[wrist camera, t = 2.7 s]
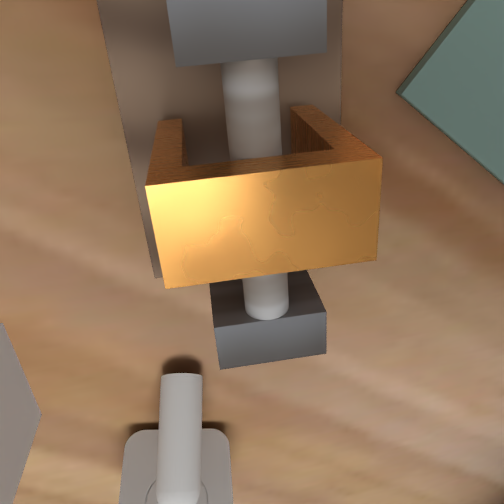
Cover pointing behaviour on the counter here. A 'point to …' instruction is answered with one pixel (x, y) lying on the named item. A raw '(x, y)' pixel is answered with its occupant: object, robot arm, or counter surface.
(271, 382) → the counter surface
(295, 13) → the crossbar stand
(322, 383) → the counter surface
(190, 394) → the white joystick
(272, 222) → the orange notched block
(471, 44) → the mat
